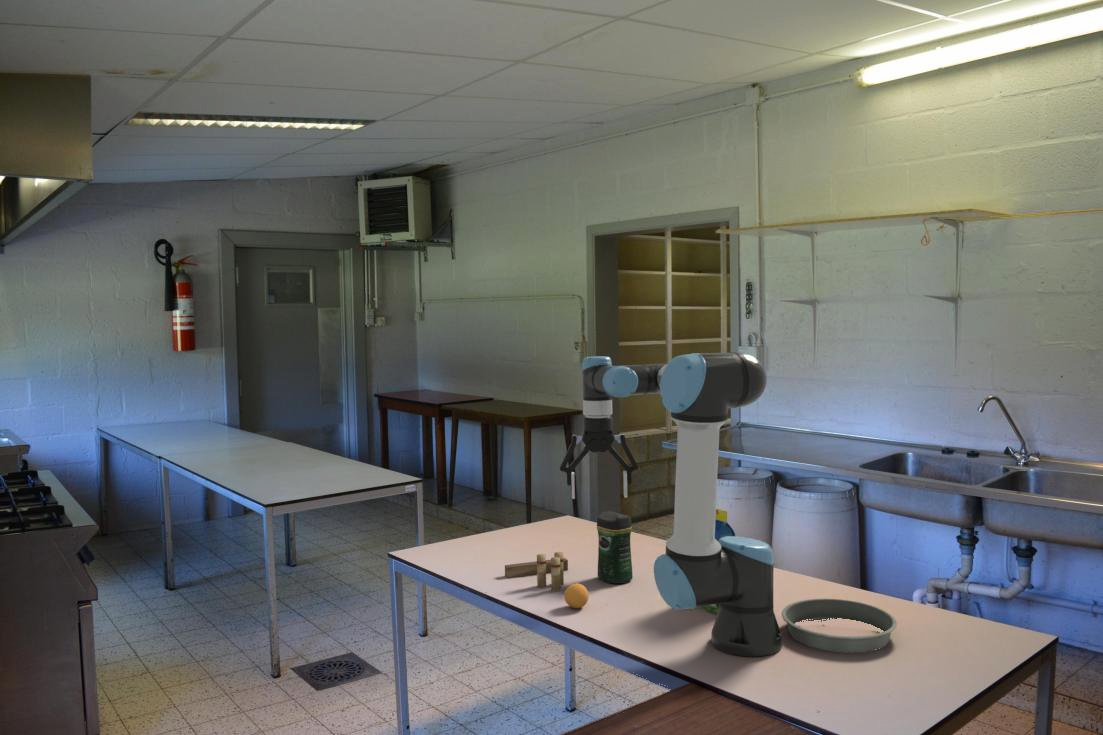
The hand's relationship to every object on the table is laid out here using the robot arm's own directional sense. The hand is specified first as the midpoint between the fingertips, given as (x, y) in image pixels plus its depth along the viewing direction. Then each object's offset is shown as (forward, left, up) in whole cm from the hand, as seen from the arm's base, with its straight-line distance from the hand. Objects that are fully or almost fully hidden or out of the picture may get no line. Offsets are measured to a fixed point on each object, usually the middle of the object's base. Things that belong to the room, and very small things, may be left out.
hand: (599, 497), depth 224 cm
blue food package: (-20, -21, -26) cm, 39 cm away
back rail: (+23, +10, -25) cm, 36 cm away
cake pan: (-47, -38, -26) cm, 66 cm away
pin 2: (+11, +8, -25) cm, 29 cm away
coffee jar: (+9, -8, -26) cm, 28 cm away
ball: (-8, +10, -22) cm, 26 cm away
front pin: (+7, +10, -25) cm, 28 cm away
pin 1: (+11, +13, -25) cm, 30 cm away
